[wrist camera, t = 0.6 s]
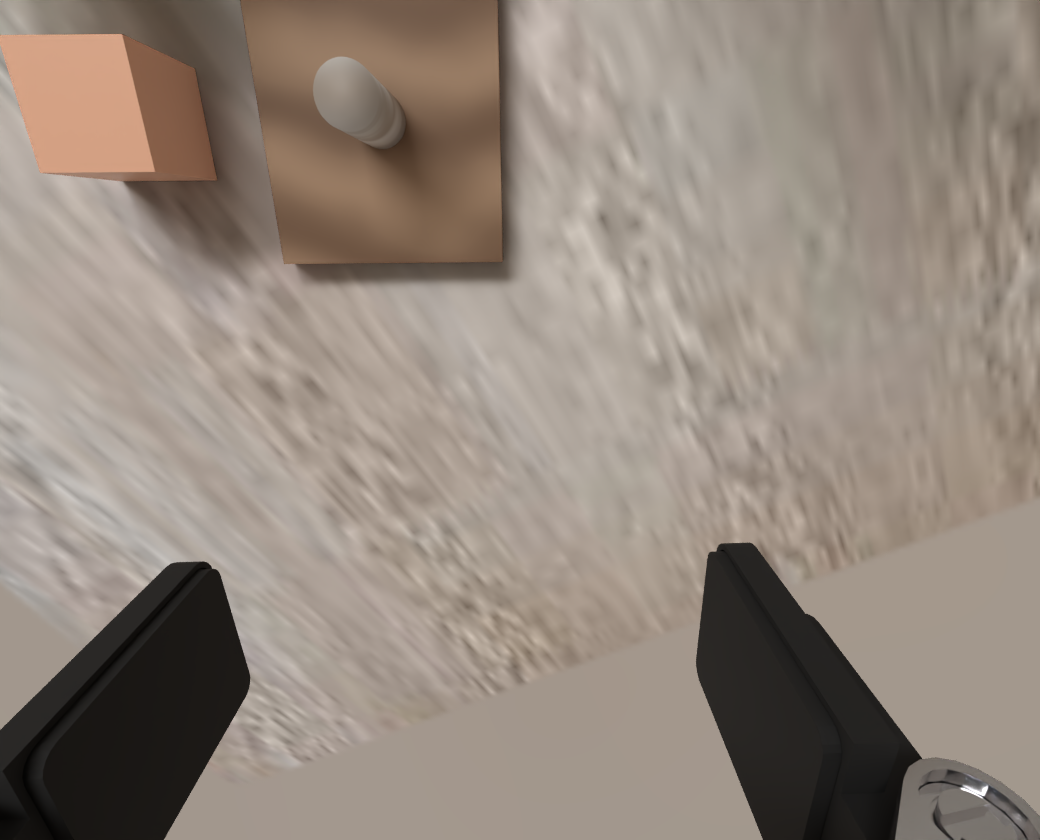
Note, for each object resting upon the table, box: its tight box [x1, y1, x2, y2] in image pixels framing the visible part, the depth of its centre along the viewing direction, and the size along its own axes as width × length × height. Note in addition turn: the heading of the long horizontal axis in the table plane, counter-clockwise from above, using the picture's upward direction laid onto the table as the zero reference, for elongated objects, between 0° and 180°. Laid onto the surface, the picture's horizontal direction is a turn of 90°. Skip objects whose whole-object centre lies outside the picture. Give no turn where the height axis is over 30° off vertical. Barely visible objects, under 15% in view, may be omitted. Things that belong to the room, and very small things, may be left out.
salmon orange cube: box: [0, 34, 217, 181], centre depth 29 cm, size 6×6×6 cm
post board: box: [240, 0, 503, 264], centre depth 28 cm, size 16×14×8 cm
